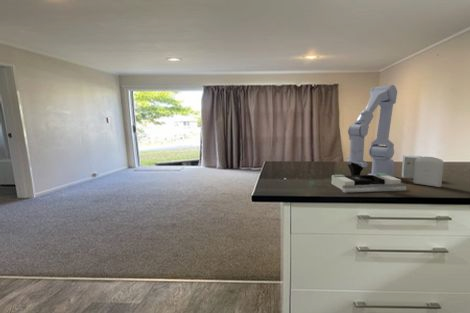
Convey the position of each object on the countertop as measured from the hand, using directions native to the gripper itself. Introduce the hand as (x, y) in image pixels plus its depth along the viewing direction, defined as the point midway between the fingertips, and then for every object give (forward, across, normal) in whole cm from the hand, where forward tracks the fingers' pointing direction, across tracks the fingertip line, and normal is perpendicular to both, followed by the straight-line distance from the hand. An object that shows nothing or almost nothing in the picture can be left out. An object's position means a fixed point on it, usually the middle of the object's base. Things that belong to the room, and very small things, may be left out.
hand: (355, 179), depth 123 cm
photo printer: (+1, +9, +28) cm, 29 cm away
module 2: (+1, +8, +10) cm, 13 cm away
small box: (+1, -5, +32) cm, 32 cm away
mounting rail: (+1, +15, 0) cm, 15 cm away
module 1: (+1, +8, -10) cm, 13 cm away
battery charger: (+2, +6, +1) cm, 6 cm away
